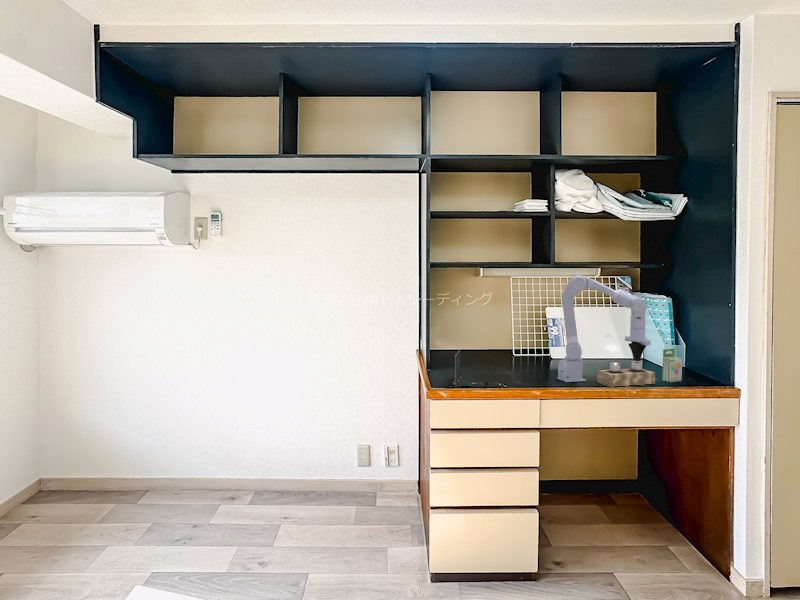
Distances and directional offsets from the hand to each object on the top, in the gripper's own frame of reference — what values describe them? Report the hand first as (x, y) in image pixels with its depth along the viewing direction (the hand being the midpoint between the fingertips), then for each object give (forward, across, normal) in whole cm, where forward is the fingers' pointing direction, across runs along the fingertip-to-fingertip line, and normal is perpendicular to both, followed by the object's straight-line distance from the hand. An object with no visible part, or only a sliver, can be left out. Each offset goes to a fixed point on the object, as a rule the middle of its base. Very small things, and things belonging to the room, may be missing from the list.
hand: (637, 360), depth 254 cm
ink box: (+10, -1, -16) cm, 19 cm away
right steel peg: (+6, 0, 0) cm, 6 cm away
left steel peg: (+6, 0, +10) cm, 12 cm away
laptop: (+10, +17, +65) cm, 68 cm away
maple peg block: (+9, 0, +5) cm, 10 cm away
